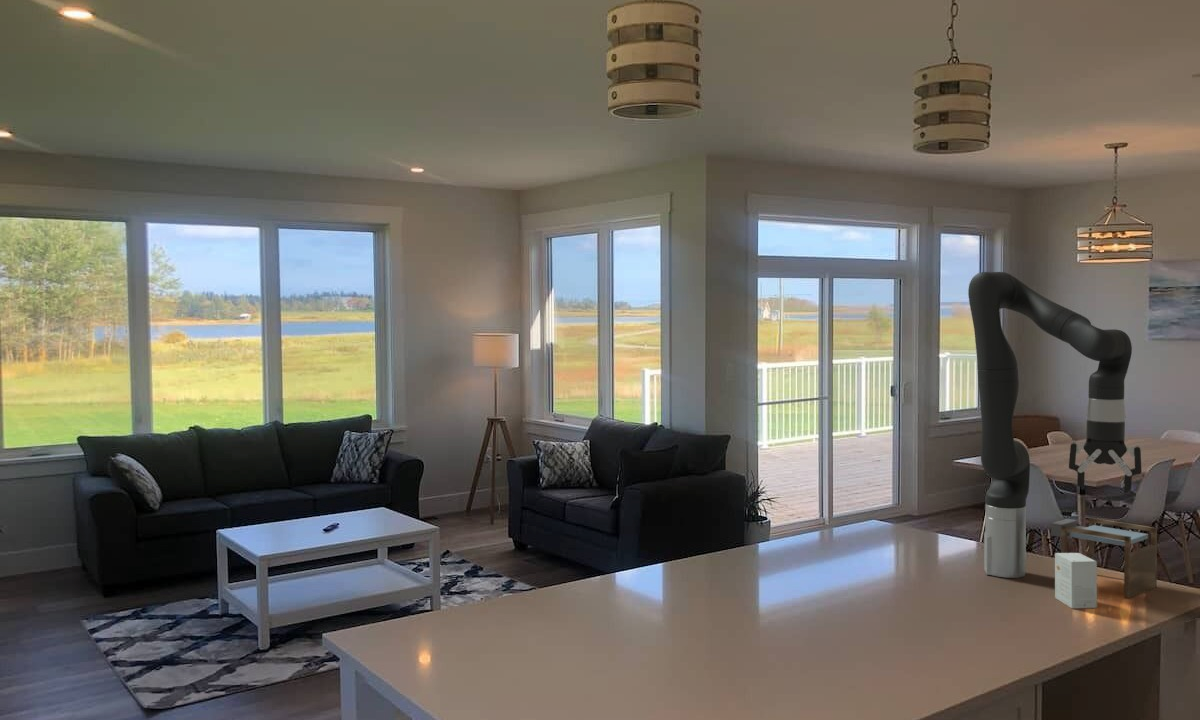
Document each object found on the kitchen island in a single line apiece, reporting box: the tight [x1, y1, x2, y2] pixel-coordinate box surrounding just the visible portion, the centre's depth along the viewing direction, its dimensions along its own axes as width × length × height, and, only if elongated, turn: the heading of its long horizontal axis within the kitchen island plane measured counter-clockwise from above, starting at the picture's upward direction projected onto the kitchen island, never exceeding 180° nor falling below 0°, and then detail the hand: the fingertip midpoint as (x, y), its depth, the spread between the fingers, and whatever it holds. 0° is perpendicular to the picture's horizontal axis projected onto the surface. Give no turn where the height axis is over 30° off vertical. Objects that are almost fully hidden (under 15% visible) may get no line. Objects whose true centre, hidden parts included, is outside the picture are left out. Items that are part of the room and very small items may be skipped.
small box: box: [1054, 552, 1098, 610], centre depth 205 cm, size 8×6×10 cm
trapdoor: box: [1050, 518, 1149, 547], centre depth 220 cm, size 18×12×3 cm, turn 37°
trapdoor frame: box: [1060, 517, 1158, 599], centre depth 218 cm, size 15×15×14 cm
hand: (1104, 490), depth 206 cm, fingers open, 8 cm apart
